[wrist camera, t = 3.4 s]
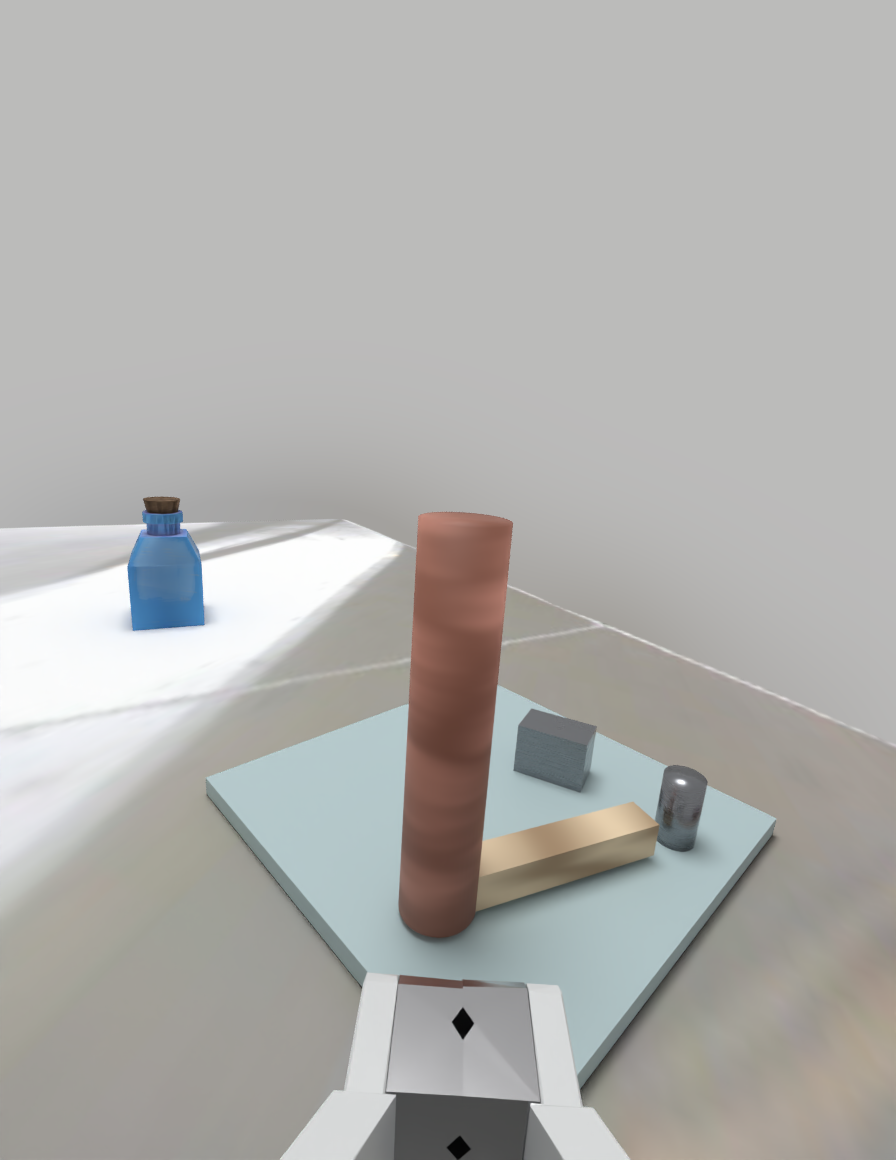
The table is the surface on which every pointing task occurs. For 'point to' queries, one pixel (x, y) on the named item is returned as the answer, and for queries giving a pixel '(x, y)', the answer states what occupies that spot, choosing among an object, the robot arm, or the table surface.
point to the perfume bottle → (165, 570)
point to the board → (514, 803)
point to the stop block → (554, 749)
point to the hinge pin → (680, 807)
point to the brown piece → (477, 747)
